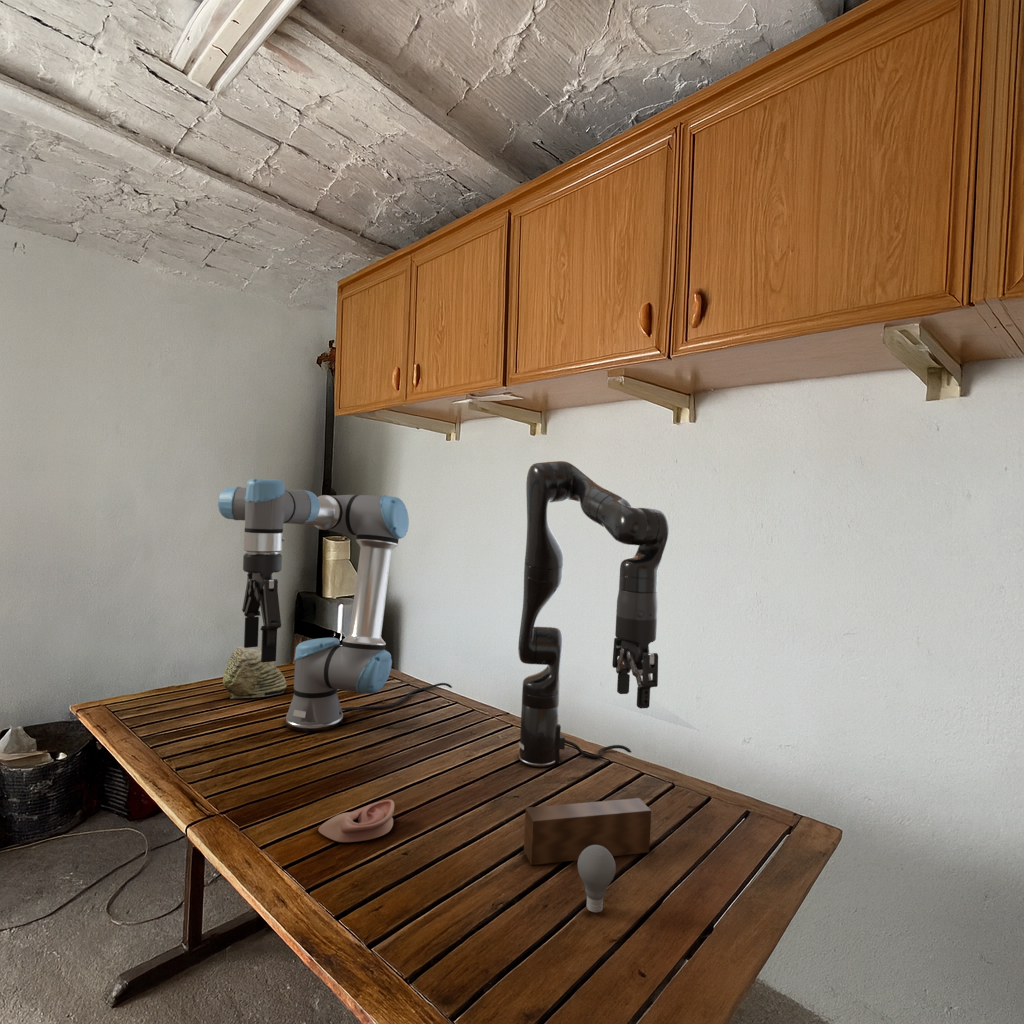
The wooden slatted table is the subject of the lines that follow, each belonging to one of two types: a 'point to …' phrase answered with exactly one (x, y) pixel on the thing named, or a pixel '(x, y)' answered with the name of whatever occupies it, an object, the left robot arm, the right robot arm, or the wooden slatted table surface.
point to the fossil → (252, 675)
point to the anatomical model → (360, 823)
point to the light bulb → (596, 874)
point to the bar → (586, 829)
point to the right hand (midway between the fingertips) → (632, 700)
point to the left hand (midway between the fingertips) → (259, 654)
